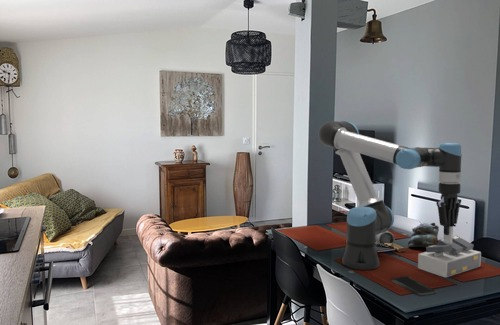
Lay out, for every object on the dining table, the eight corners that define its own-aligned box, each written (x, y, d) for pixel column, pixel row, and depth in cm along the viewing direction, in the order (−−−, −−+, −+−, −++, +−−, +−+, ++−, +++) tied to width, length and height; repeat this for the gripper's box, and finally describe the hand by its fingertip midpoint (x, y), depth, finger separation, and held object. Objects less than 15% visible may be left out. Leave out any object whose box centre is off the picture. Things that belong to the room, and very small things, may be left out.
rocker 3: (472, 249, 162) (474, 244, 161) (465, 251, 159) (467, 246, 158) (454, 239, 168) (456, 235, 167) (447, 241, 165) (449, 236, 165)
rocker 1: (452, 250, 153) (451, 244, 154) (444, 252, 151) (443, 246, 151) (434, 250, 160) (433, 245, 160) (426, 252, 158) (425, 247, 158)
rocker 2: (462, 252, 158) (463, 247, 157) (454, 254, 155) (456, 249, 155) (444, 242, 164) (445, 237, 164) (437, 243, 162) (438, 239, 161)
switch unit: (446, 277, 149) (447, 258, 148) (417, 268, 159) (418, 250, 159) (481, 266, 161) (482, 248, 160) (452, 258, 171) (453, 241, 171)
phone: (419, 294, 132) (390, 278, 146) (419, 297, 132) (390, 281, 146) (437, 291, 135) (407, 275, 149) (437, 294, 135) (407, 278, 149)
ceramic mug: (389, 242, 195) (389, 227, 195) (394, 247, 187) (394, 232, 187) (367, 243, 196) (367, 228, 195) (372, 248, 188) (372, 232, 187)
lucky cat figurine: (401, 246, 189) (403, 219, 194) (418, 253, 194) (419, 226, 199) (428, 245, 176) (429, 215, 181) (445, 252, 181) (446, 223, 186)
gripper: (448, 185, 144) (447, 247, 146) (468, 182, 151) (466, 242, 152) (430, 183, 150) (428, 242, 152) (450, 180, 157) (448, 238, 159)
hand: (447, 242), depth 152 cm, fingers closed
